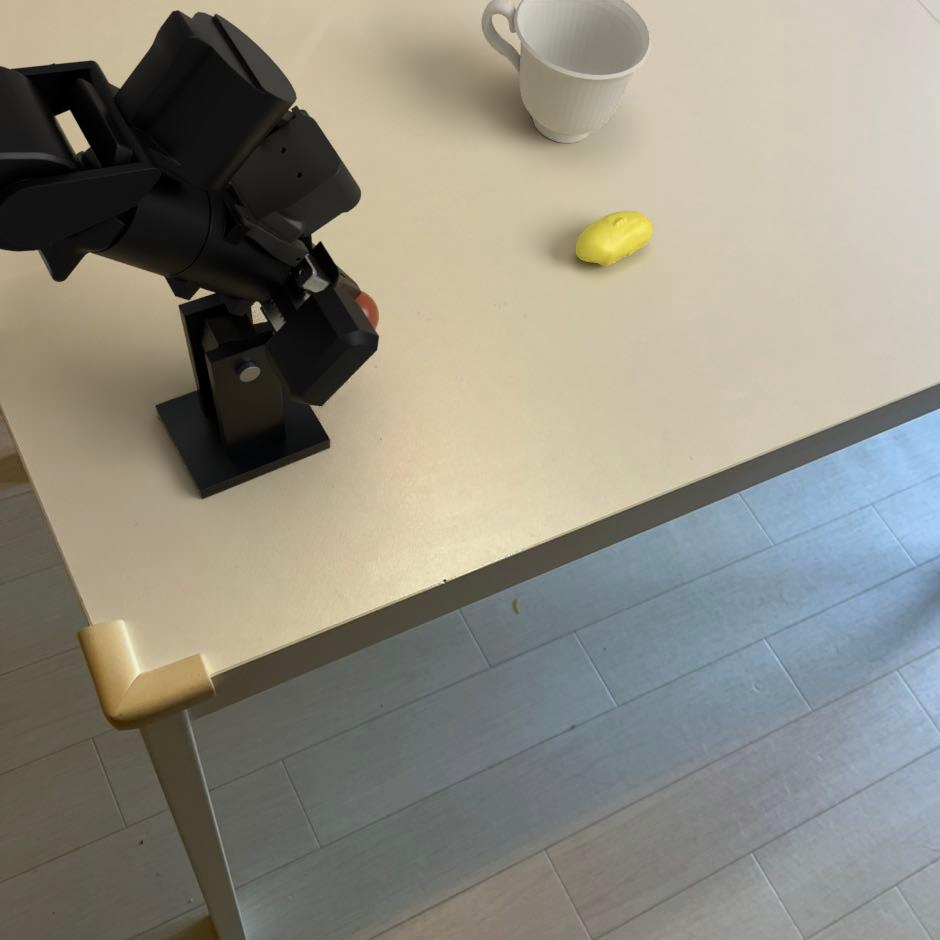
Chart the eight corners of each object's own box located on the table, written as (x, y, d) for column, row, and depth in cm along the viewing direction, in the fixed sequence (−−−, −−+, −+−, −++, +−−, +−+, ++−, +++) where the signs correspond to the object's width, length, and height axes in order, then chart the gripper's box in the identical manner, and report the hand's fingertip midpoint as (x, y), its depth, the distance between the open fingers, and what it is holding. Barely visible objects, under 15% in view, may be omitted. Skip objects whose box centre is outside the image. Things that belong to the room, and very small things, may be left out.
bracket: (283, 367, 79) (273, 253, 68) (330, 448, 77) (328, 343, 65) (157, 414, 75) (124, 301, 64) (202, 499, 73) (176, 398, 62)
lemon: (658, 256, 91) (670, 225, 87) (583, 283, 88) (592, 251, 84) (633, 223, 92) (644, 190, 89) (558, 248, 89) (567, 215, 86)
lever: (358, 310, 74) (369, 274, 71) (381, 346, 73) (393, 312, 70) (195, 342, 67) (200, 303, 65) (218, 383, 66) (224, 346, 64)
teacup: (491, 51, 99) (505, -46, 90) (636, 101, 99) (664, 9, 91) (452, 132, 93) (464, 36, 84) (607, 185, 94) (634, 95, 85)
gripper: (347, 241, 50) (508, 313, 63) (189, -4, 55) (368, 111, 69) (211, 390, 54) (390, 427, 67) (77, 148, 59) (267, 228, 73)
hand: (355, 293), depth 69 cm, fingers closed
